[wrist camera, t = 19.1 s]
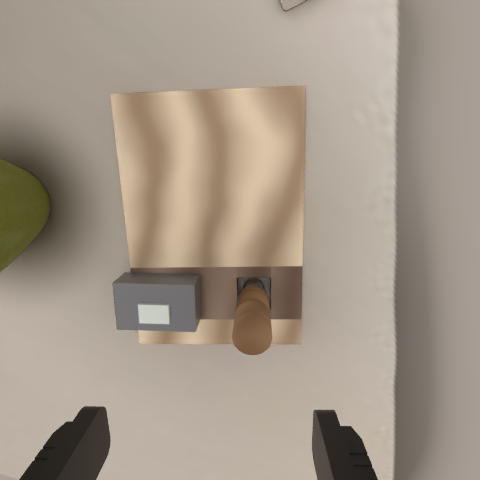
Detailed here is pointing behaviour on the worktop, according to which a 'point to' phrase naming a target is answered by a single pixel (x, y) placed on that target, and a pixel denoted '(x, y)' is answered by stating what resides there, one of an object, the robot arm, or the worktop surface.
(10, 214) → the flower pot
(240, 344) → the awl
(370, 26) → the worktop surface
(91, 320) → the worktop surface
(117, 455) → the worktop surface
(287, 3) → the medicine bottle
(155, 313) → the block
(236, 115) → the subfloor panel
